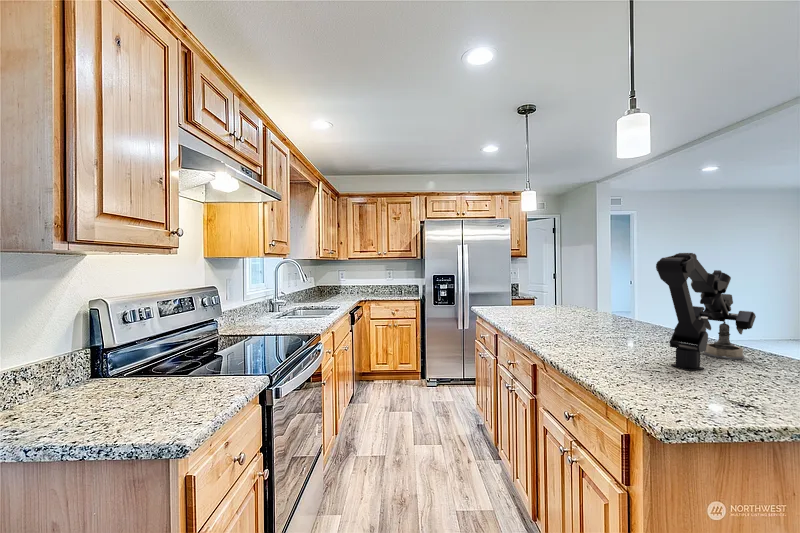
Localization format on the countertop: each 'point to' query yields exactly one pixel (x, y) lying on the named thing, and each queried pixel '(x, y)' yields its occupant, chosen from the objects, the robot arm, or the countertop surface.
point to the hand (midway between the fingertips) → (725, 331)
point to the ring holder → (724, 352)
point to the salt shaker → (724, 337)
